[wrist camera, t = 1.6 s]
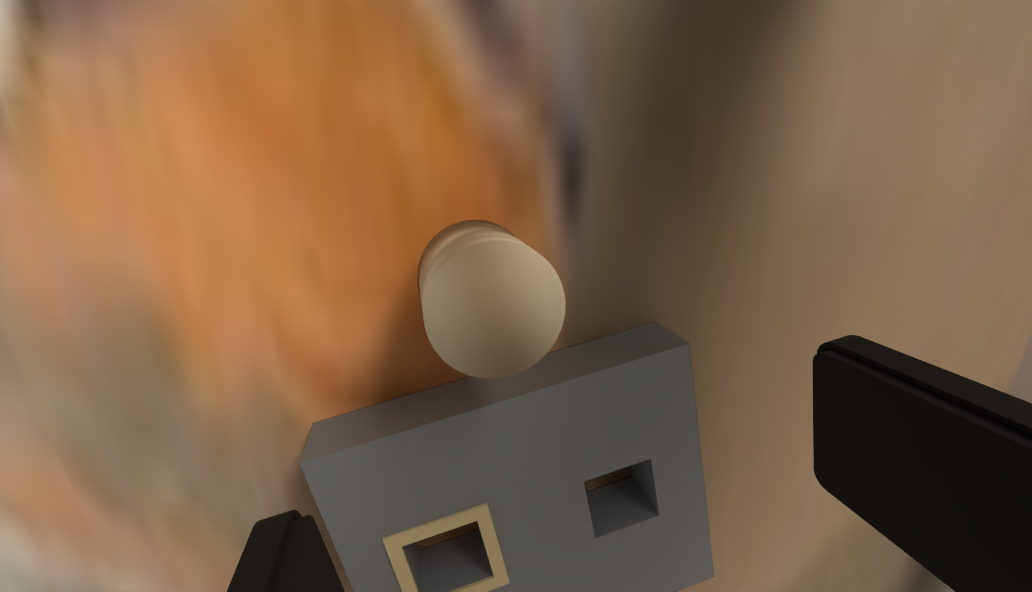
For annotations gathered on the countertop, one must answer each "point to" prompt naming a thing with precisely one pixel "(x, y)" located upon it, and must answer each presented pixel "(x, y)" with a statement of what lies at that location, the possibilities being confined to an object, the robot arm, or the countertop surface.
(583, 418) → the seat block
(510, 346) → the peg
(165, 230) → the countertop surface
